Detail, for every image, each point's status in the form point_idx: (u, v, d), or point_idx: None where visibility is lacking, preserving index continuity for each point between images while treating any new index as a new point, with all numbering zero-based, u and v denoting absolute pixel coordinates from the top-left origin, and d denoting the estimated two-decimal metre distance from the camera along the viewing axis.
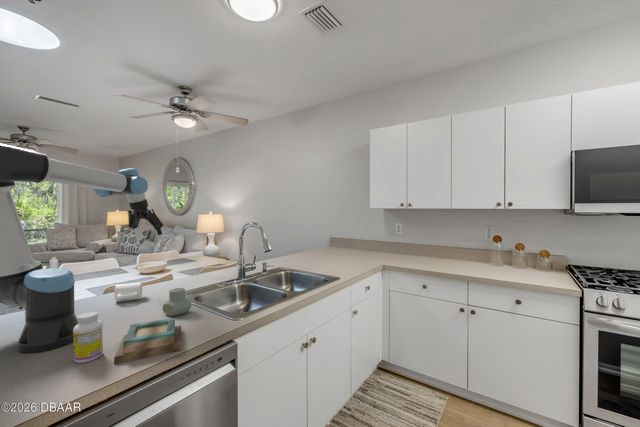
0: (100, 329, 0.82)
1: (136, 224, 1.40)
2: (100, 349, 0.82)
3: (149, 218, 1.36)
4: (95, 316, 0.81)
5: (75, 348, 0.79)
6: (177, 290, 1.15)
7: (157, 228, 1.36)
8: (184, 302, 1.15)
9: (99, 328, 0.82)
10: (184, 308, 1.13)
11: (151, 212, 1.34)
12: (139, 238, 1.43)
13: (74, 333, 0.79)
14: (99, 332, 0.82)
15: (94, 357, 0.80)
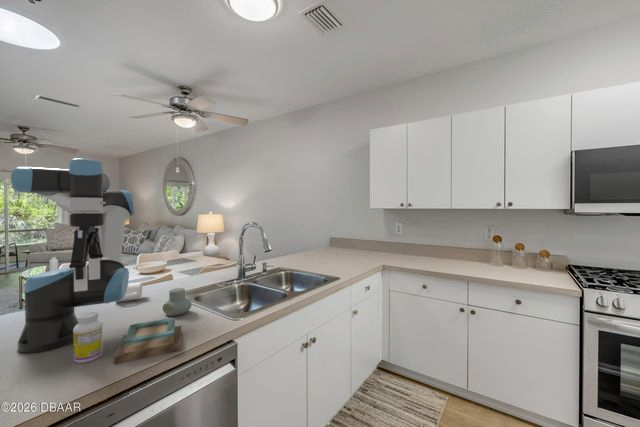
0: (100, 329, 0.82)
1: (92, 253, 0.86)
2: (100, 349, 0.82)
3: None
4: (95, 316, 0.81)
5: (75, 348, 0.79)
6: (177, 290, 1.15)
7: None
8: (184, 302, 1.15)
9: (99, 328, 0.82)
10: (184, 308, 1.13)
11: (78, 235, 0.75)
12: (91, 277, 0.87)
13: (74, 333, 0.79)
14: (99, 332, 0.82)
15: (94, 357, 0.80)
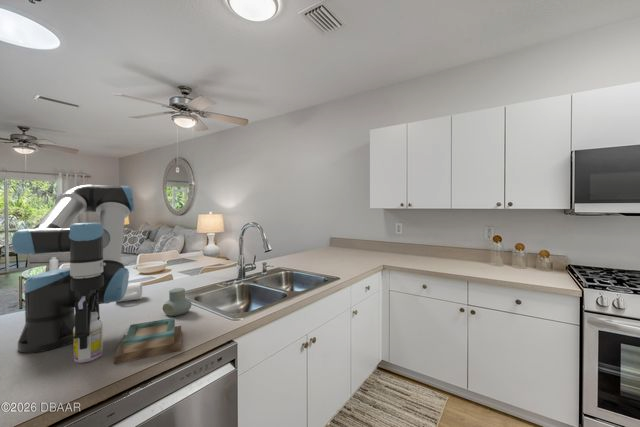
0: (100, 329, 0.82)
1: None
2: (100, 349, 0.82)
3: None
4: (95, 315, 0.81)
5: (75, 348, 0.79)
6: (177, 290, 1.15)
7: (78, 337, 0.77)
8: (184, 302, 1.15)
9: (99, 328, 0.82)
10: (184, 308, 1.13)
11: (79, 307, 0.75)
12: None
13: (74, 333, 0.79)
14: (99, 332, 0.82)
15: (94, 357, 0.80)
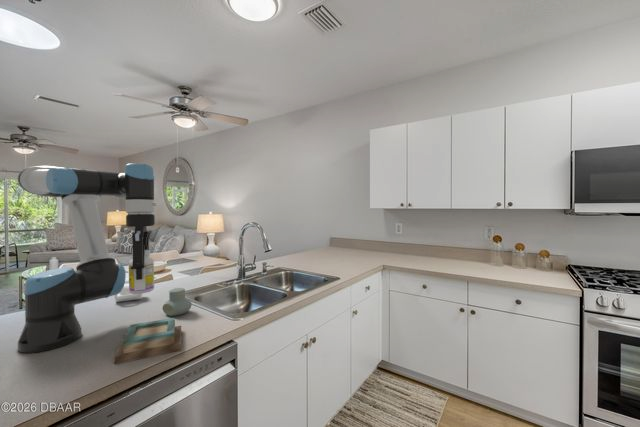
0: (152, 265, 0.87)
1: None
2: (152, 283, 0.87)
3: None
4: (148, 251, 0.86)
5: (131, 280, 0.84)
6: (177, 290, 1.15)
7: (134, 268, 0.82)
8: (184, 302, 1.15)
9: (151, 263, 0.87)
10: (184, 308, 1.13)
11: (135, 239, 0.81)
12: None
13: (130, 266, 0.84)
14: (151, 267, 0.87)
15: (148, 290, 0.85)
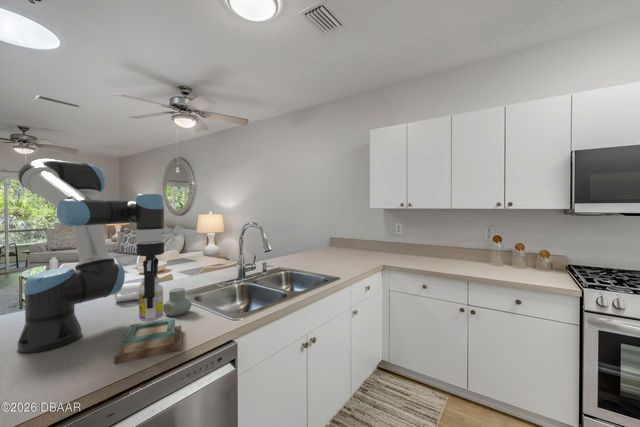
0: (162, 292, 0.89)
1: None
2: (162, 310, 0.89)
3: None
4: (158, 279, 0.88)
5: (141, 308, 0.85)
6: (177, 290, 1.15)
7: (145, 297, 0.83)
8: (184, 302, 1.15)
9: (161, 291, 0.89)
10: (184, 308, 1.13)
11: (147, 269, 0.82)
12: None
13: (140, 294, 0.86)
14: (161, 295, 0.88)
15: (157, 317, 0.87)
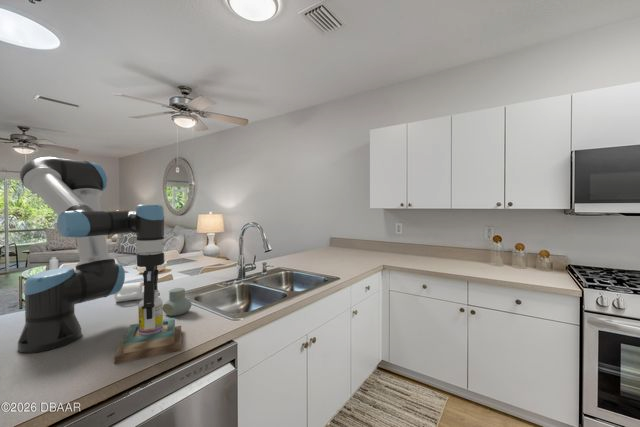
0: (161, 305, 0.89)
1: None
2: (161, 324, 0.89)
3: None
4: (157, 293, 0.88)
5: (141, 322, 0.86)
6: (177, 290, 1.15)
7: (145, 308, 0.82)
8: (184, 302, 1.15)
9: (161, 304, 0.89)
10: (184, 308, 1.13)
11: (147, 279, 0.82)
12: None
13: (140, 308, 0.86)
14: (161, 308, 0.89)
15: (157, 331, 0.87)
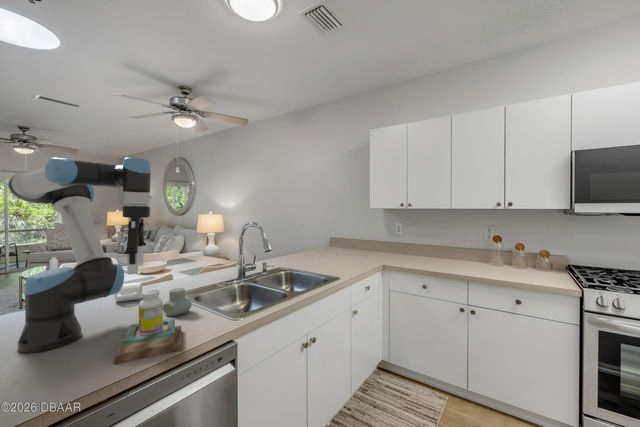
0: (161, 305, 0.89)
1: None
2: (161, 324, 0.89)
3: None
4: (157, 293, 0.88)
5: (141, 322, 0.86)
6: (177, 290, 1.15)
7: None
8: (184, 302, 1.15)
9: (161, 304, 0.89)
10: (184, 308, 1.13)
11: (131, 225, 0.85)
12: None
13: (140, 308, 0.86)
14: (161, 308, 0.89)
15: (157, 331, 0.87)
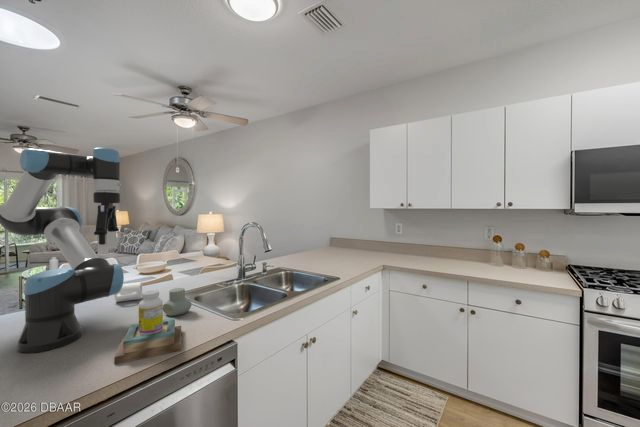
0: (161, 305, 0.89)
1: (110, 226, 1.04)
2: (161, 324, 0.89)
3: None
4: (157, 293, 0.88)
5: (141, 322, 0.86)
6: (177, 290, 1.15)
7: (97, 233, 0.91)
8: (184, 302, 1.15)
9: (161, 304, 0.89)
10: (184, 308, 1.13)
11: (101, 209, 0.93)
12: (110, 246, 1.05)
13: (140, 308, 0.86)
14: (161, 308, 0.89)
15: (157, 331, 0.87)
